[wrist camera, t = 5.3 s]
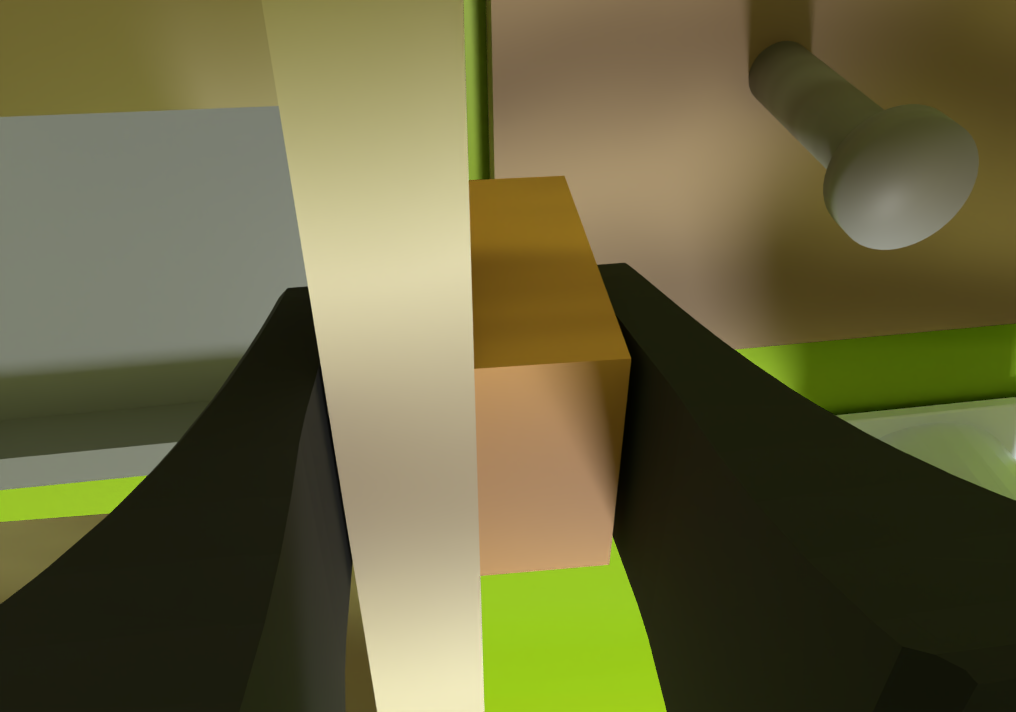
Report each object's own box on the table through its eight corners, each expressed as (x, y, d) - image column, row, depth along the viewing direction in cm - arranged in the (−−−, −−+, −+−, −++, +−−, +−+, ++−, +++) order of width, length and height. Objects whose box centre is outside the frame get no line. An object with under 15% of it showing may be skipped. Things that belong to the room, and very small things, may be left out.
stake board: (1040, 299, 25) (1218, 455, 20) (493, 348, 24) (532, 532, 18) (1327, -373, 16) (1785, -407, 11) (476, -370, 15) (543, -406, 9)
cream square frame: (549, 535, 16) (590, 746, 13) (-190, 596, 15) (-350, 845, 11) (579, -179, 9) (682, -111, 6) (-766, -162, 8) (-1523, -70, 5)
